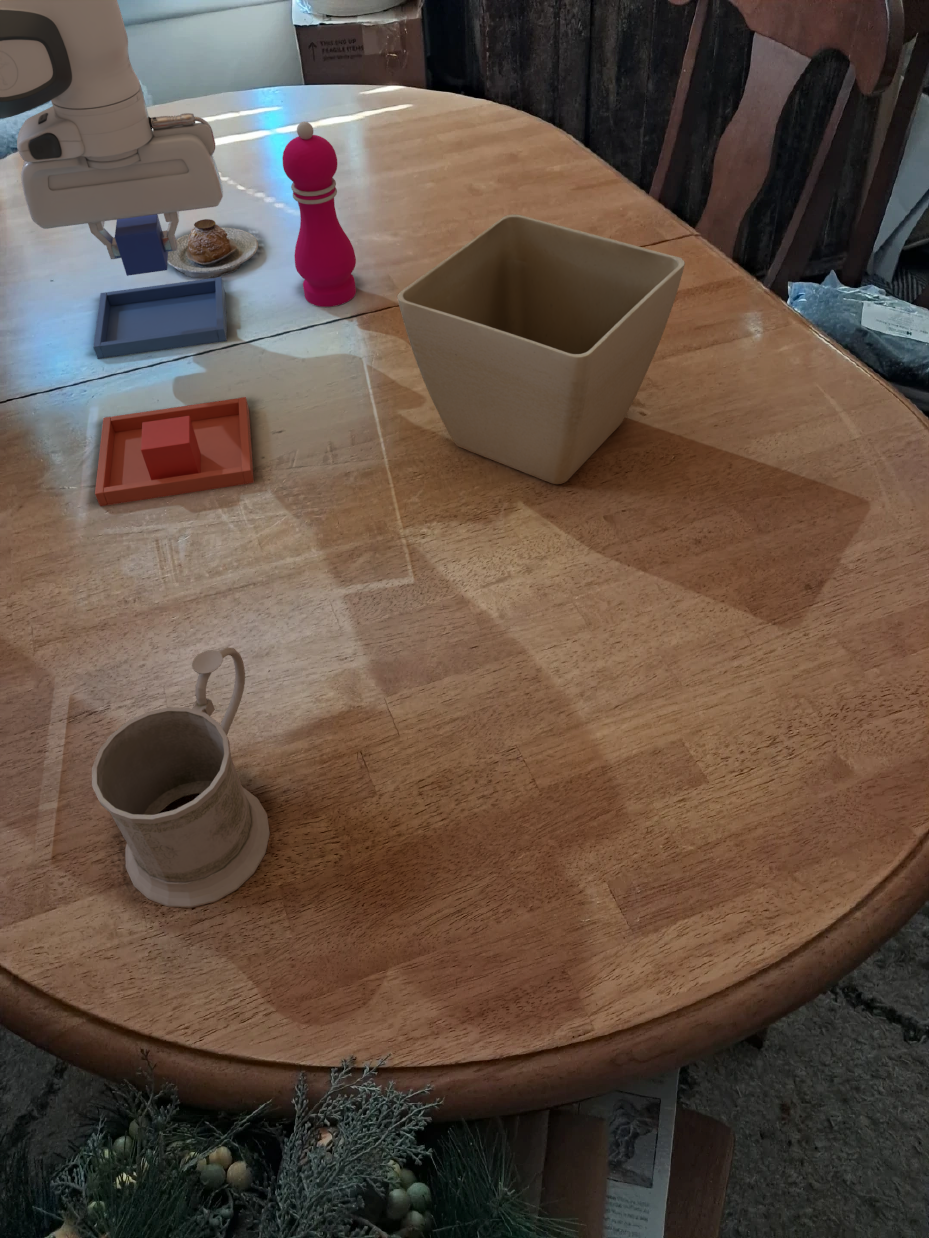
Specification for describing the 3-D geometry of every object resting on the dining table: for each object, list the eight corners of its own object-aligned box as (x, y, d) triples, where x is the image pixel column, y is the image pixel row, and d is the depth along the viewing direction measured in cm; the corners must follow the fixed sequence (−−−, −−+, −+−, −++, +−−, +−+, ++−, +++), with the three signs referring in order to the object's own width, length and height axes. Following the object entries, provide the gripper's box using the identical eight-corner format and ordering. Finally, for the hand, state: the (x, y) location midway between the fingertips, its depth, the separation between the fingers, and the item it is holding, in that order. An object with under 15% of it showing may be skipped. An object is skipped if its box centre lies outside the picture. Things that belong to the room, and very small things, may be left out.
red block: (153, 487, 95) (140, 450, 92) (155, 460, 98) (142, 422, 95) (200, 480, 96) (189, 442, 92) (200, 453, 99) (189, 415, 96)
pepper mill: (292, 290, 122) (260, 119, 107) (346, 274, 124) (322, 104, 109) (313, 315, 117) (283, 140, 103) (369, 299, 119) (347, 125, 105)
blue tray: (98, 362, 112) (92, 347, 111) (105, 308, 121) (100, 292, 120) (227, 344, 114) (223, 329, 112) (225, 291, 122) (221, 276, 121)
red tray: (101, 510, 94) (94, 493, 93) (109, 433, 103) (102, 417, 101) (254, 486, 96) (250, 470, 94) (249, 412, 104) (245, 396, 103)
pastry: (150, 258, 129) (140, 224, 126) (228, 227, 135) (220, 193, 131) (197, 289, 123) (188, 254, 120) (277, 256, 128) (270, 221, 125)
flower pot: (670, 414, 100) (690, 256, 88) (576, 520, 90) (584, 357, 78) (511, 363, 108) (509, 211, 96) (408, 454, 98) (391, 297, 86)
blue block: (126, 276, 110) (114, 237, 107) (128, 257, 113) (116, 219, 110) (167, 270, 110) (156, 231, 107) (168, 252, 114) (157, 213, 110)
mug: (222, 927, 64) (174, 828, 55) (97, 879, 67) (33, 778, 58) (323, 755, 73) (296, 647, 65) (210, 720, 76) (169, 611, 67)
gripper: (207, 100, 104) (236, 228, 114) (8, 124, 102) (55, 252, 112) (208, 122, 100) (238, 253, 110) (0, 147, 98) (49, 278, 108)
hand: (144, 253), depth 111 cm, fingers closed on blue block, 4 cm apart
